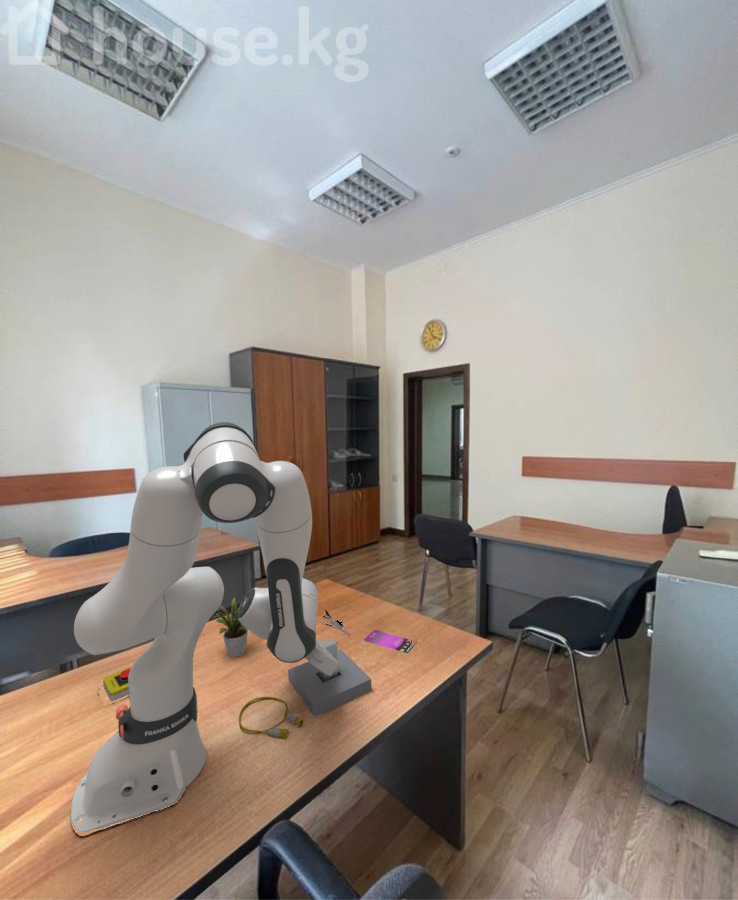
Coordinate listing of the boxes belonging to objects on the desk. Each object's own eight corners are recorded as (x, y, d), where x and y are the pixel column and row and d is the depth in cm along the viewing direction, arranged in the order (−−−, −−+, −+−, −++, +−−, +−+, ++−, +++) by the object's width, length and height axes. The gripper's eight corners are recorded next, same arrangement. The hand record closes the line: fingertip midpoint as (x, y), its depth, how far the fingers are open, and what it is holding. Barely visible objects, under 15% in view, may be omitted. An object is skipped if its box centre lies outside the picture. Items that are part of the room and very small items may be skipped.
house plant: (239, 674, 107) (236, 616, 106) (199, 665, 112) (195, 610, 111) (269, 645, 121) (266, 594, 120) (231, 639, 125) (229, 589, 124)
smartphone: (407, 656, 115) (407, 653, 115) (363, 641, 122) (363, 638, 122) (417, 644, 121) (417, 641, 121) (375, 630, 128) (375, 628, 128)
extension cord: (253, 758, 81) (253, 749, 80) (231, 713, 93) (231, 705, 93) (307, 730, 87) (306, 722, 87) (280, 691, 100) (279, 684, 100)
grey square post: (324, 685, 99) (323, 647, 99) (319, 679, 102) (318, 642, 101) (338, 679, 101) (337, 642, 101) (333, 673, 104) (332, 637, 103)
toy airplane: (338, 640, 124) (338, 633, 123) (310, 614, 141) (310, 607, 141) (359, 632, 128) (359, 625, 128) (329, 608, 145) (329, 602, 145)
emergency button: (94, 676, 102) (157, 651, 113) (96, 692, 102) (158, 665, 113) (103, 692, 95) (168, 664, 106) (104, 709, 96) (169, 680, 106)
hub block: (313, 717, 91) (313, 704, 90) (288, 680, 104) (288, 669, 104) (371, 690, 99) (371, 679, 99) (341, 659, 113) (341, 649, 112)
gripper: (319, 642, 88) (357, 668, 94) (286, 607, 105) (321, 631, 111) (301, 668, 86) (341, 693, 92) (271, 628, 103) (307, 651, 109)
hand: (330, 659), depth 102 cm, fingers closed on grey square post, 3 cm apart
